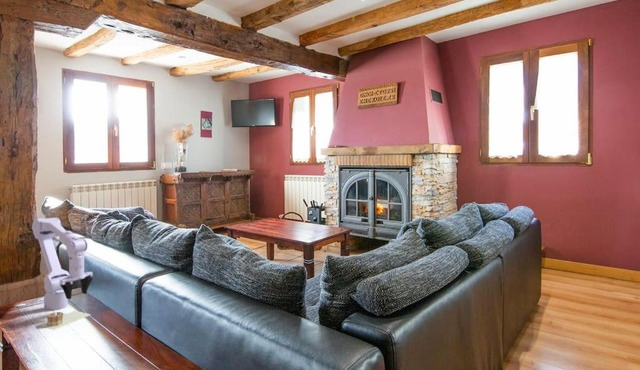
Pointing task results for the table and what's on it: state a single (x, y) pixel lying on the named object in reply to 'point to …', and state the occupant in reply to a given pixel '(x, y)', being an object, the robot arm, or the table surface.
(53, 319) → the bead
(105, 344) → the table surface
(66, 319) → the board
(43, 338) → the table surface
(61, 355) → the table surface
